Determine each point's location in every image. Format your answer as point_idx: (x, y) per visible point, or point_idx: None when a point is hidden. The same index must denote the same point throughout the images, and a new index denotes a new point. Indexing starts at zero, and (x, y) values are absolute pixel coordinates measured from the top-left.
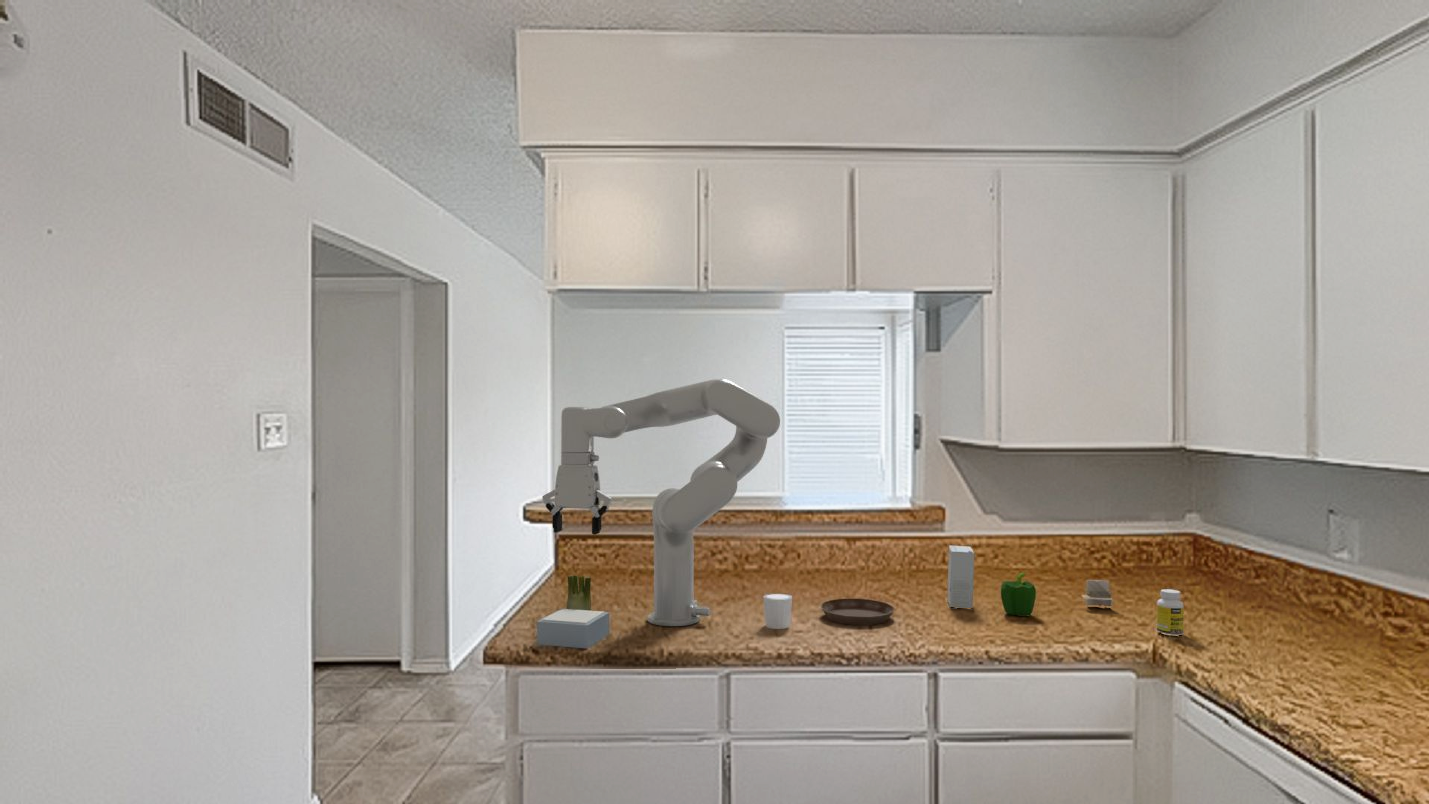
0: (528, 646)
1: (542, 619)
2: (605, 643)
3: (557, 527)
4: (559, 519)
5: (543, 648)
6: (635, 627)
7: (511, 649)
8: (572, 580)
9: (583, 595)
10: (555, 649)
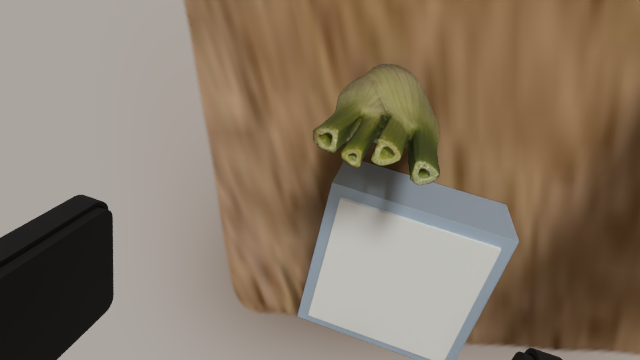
0: (298, 288)
1: (309, 315)
2: None
3: (81, 321)
4: (3, 347)
5: None
6: (611, 118)
7: (269, 304)
8: (342, 142)
9: (405, 146)
10: None
